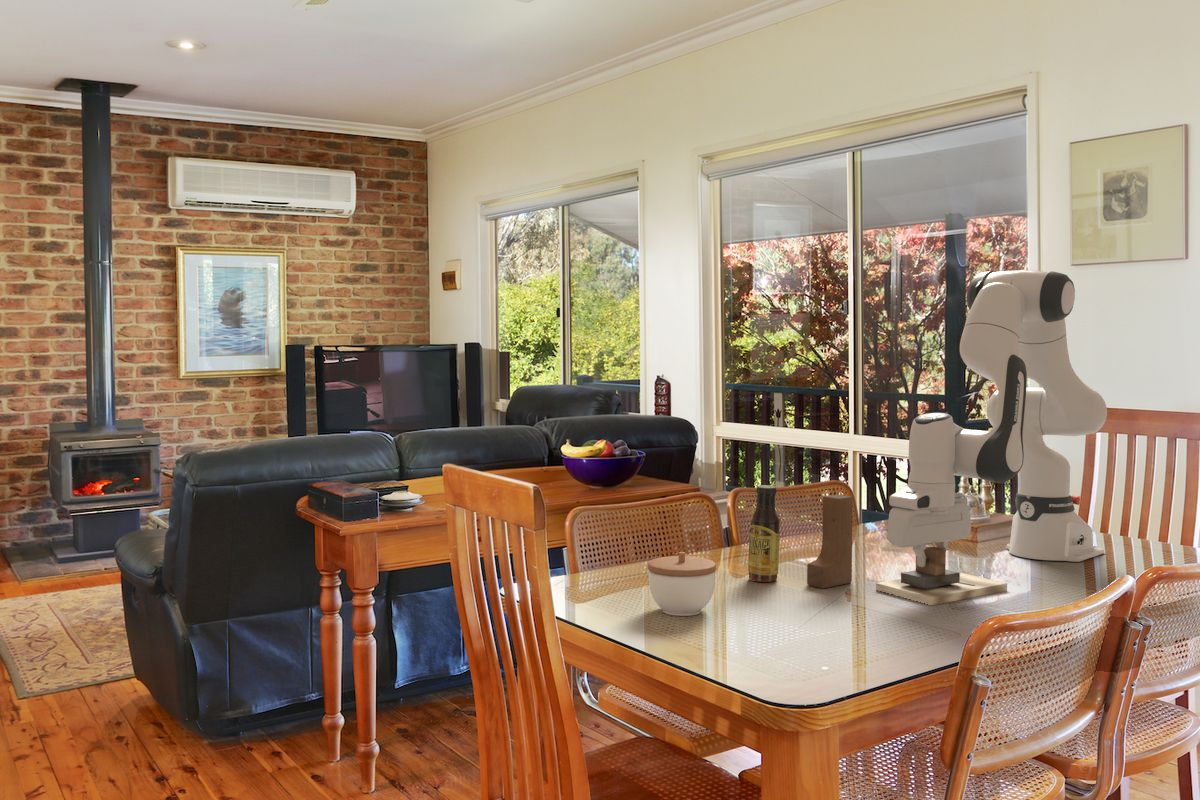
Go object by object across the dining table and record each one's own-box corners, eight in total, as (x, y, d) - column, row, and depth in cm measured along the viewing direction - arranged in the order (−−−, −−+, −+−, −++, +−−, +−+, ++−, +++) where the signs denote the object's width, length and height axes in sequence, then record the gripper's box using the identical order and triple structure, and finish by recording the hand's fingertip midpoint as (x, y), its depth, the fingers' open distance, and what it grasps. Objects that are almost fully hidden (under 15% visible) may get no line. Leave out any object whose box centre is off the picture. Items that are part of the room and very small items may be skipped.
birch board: (950, 577, 221) (950, 569, 221) (1007, 590, 209) (1007, 582, 209) (875, 590, 210) (876, 582, 209) (931, 605, 198) (931, 597, 198)
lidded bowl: (647, 602, 201) (647, 545, 200) (712, 602, 201) (713, 545, 200) (648, 620, 188) (648, 559, 188) (718, 620, 188) (718, 559, 187)
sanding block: (935, 576, 212) (936, 542, 212) (959, 582, 207) (960, 547, 207) (900, 582, 207) (901, 547, 207) (924, 588, 202) (925, 552, 202)
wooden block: (823, 589, 211) (823, 500, 210) (806, 585, 214) (806, 498, 213) (852, 583, 216) (853, 496, 215) (835, 579, 220) (836, 494, 219)
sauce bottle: (742, 580, 219) (742, 486, 218) (759, 575, 224) (759, 483, 222) (768, 585, 215) (769, 489, 213) (785, 580, 219) (786, 485, 218)
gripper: (954, 489, 214) (952, 556, 215) (882, 497, 204) (881, 567, 205) (979, 493, 209) (978, 562, 210) (907, 501, 198) (906, 573, 199)
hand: (930, 565), depth 207 cm, fingers closed on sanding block, 3 cm apart
